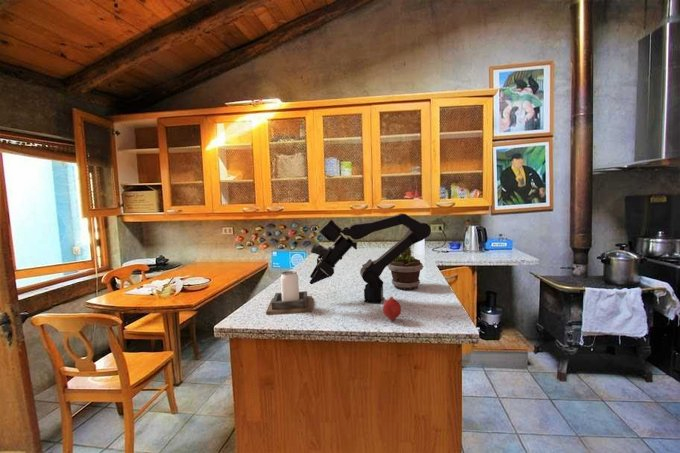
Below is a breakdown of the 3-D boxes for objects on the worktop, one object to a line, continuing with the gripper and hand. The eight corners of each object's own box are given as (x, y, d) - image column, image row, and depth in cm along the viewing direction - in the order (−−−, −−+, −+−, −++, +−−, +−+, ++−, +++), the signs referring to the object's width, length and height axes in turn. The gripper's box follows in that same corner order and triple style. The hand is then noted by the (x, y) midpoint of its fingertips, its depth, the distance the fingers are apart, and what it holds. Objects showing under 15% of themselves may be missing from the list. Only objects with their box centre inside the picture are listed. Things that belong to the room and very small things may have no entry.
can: (291, 307, 120) (289, 275, 119) (278, 305, 123) (276, 273, 122) (303, 302, 125) (301, 271, 124) (290, 300, 129) (288, 270, 128)
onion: (381, 317, 109) (380, 294, 109) (398, 316, 110) (397, 293, 109) (385, 324, 104) (384, 299, 103) (403, 323, 104) (402, 298, 103)
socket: (312, 298, 134) (311, 289, 134) (311, 311, 118) (311, 302, 118) (272, 300, 133) (271, 292, 132) (266, 314, 117) (265, 304, 117)
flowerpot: (421, 292, 135) (420, 244, 134) (385, 290, 141) (383, 244, 139) (425, 283, 149) (424, 239, 147) (391, 281, 154) (390, 239, 152)
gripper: (322, 233, 133) (296, 261, 133) (323, 238, 115) (292, 271, 115) (342, 251, 134) (316, 279, 135) (346, 260, 116) (316, 292, 116)
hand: (310, 280), depth 125 cm, fingers open, 9 cm apart
